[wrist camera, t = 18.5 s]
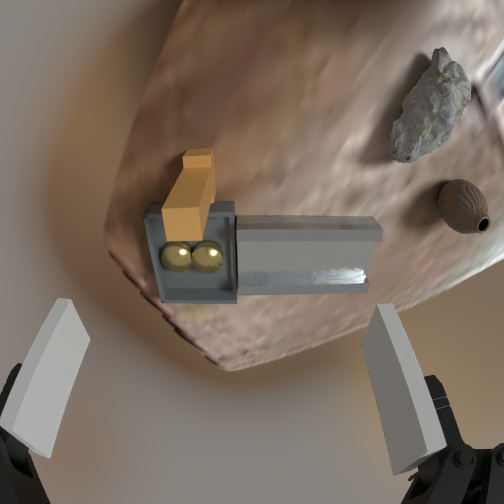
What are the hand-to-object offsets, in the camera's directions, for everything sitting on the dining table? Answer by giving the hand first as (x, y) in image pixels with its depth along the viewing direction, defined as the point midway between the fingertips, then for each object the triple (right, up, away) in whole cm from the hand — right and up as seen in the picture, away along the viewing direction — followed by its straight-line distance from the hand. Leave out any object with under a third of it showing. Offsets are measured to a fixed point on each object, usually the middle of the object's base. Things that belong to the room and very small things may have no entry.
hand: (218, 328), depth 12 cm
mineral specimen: (+22, +21, +18) cm, 36 cm away
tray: (-6, +3, +29) cm, 29 cm away
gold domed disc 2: (-4, +3, +28) cm, 29 cm away
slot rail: (+9, +4, +29) cm, 30 cm away
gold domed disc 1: (-8, +3, +28) cm, 30 cm away
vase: (+30, +11, +24) cm, 40 cm away
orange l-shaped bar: (-4, +13, +22) cm, 26 cm away
